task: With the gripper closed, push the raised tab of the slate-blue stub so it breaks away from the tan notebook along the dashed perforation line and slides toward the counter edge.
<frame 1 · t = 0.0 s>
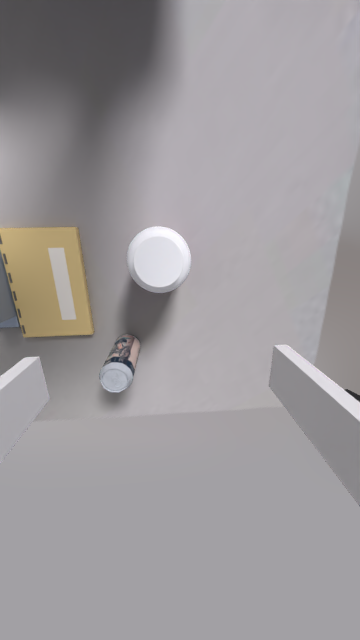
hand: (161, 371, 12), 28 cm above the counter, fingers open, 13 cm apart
tan notebook: (51, 284, 38), on the counter
beer can: (128, 344, 42), on the counter
pill bottle: (160, 257, 38), on the counter
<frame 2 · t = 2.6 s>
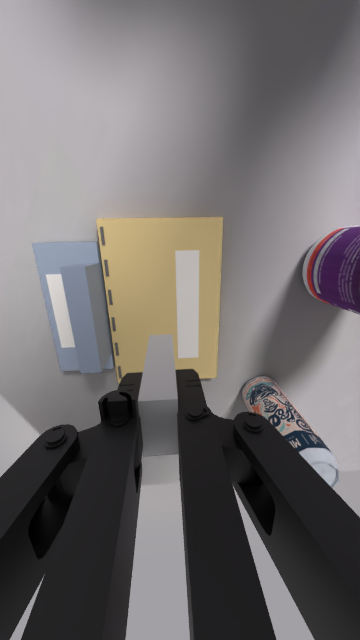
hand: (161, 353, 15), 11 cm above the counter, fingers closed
tan notebook: (164, 306, 25), on the counter
stub: (71, 316, 22), point 3 cm above the counter, slide at 0.0 cm
beer can: (257, 388, 29), on the counter
pill bottle: (332, 265, 25), on the counter
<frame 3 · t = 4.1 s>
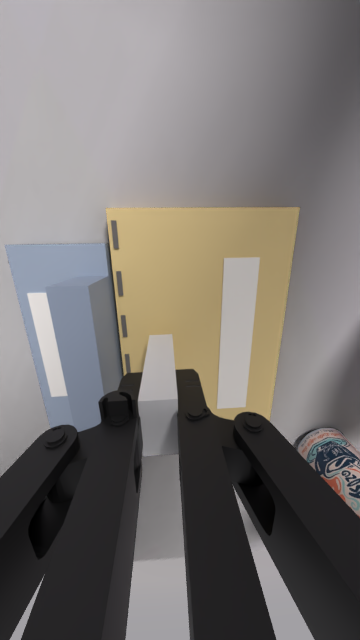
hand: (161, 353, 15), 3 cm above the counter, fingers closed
tan notebook: (200, 336, 17), on the counter
stub: (65, 357, 14), point 3 cm above the counter, slide at 0.0 cm
beer can: (316, 441, 22), on the counter
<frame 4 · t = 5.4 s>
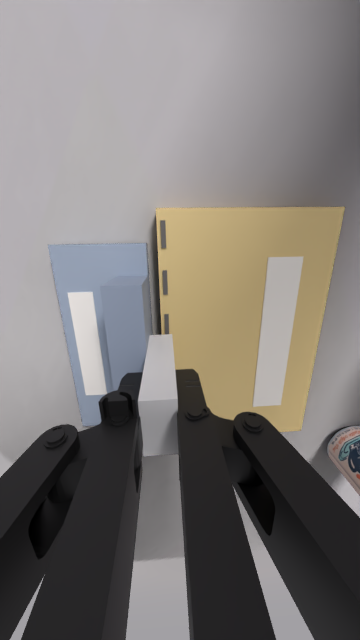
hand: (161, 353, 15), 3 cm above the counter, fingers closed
tan notebook: (237, 334, 17), on the counter
stub: (105, 356, 14), point 3 cm above the counter, slide at 0.4 cm, touching gripper
beer can: (345, 439, 22), on the counter
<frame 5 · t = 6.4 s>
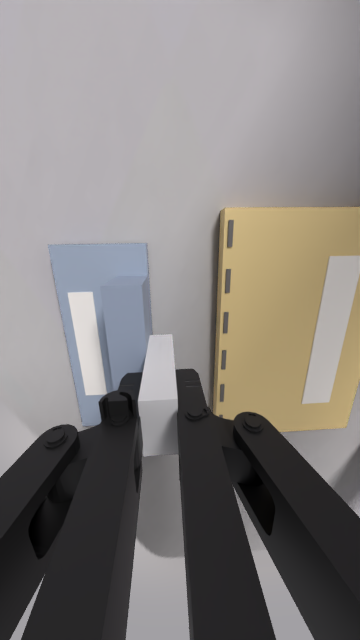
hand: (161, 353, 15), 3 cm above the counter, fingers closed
tan notebook: (288, 332, 18), on the counter
stub: (105, 356, 14), point 3 cm above the counter, slide at 4.7 cm, touching gripper
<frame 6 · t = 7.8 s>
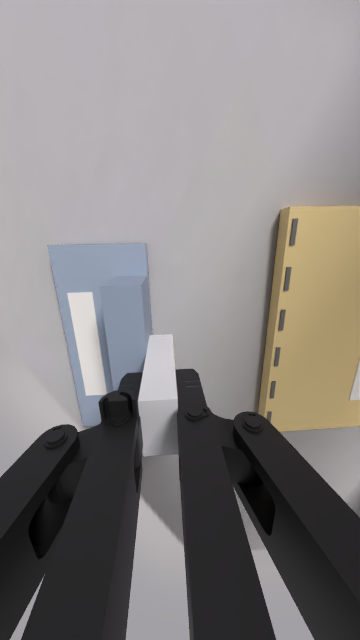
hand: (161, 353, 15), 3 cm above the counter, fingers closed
tan notebook: (338, 330, 18), on the counter
stub: (105, 356, 14), point 3 cm above the counter, slide at 8.9 cm, touching gripper
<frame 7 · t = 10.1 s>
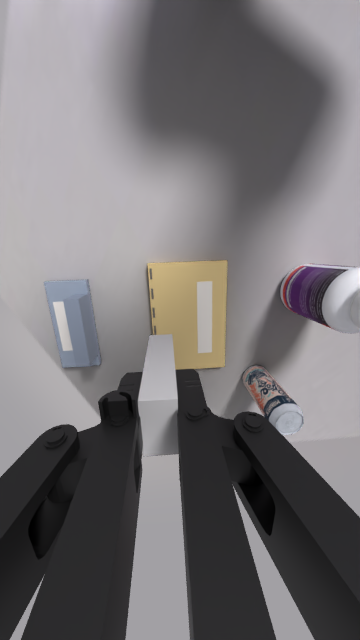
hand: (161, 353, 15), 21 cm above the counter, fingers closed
tan notebook: (188, 317, 36), on the counter
stub: (69, 329, 33), point 3 cm above the counter, slide at 8.9 cm
beer can: (253, 375, 41), on the counter
pill bottle: (300, 287, 37), on the counter
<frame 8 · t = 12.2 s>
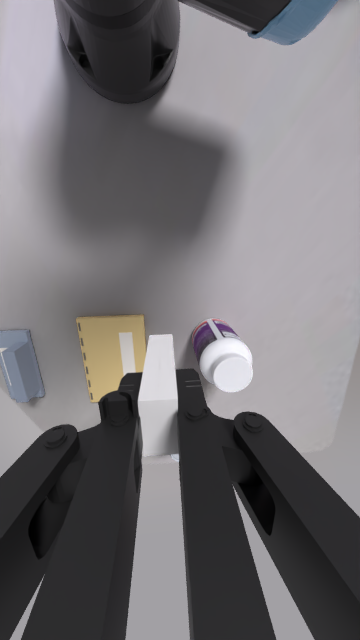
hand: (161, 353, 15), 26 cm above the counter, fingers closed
tan notebook: (116, 358, 44), on the counter
stub: (12, 370, 40), point 3 cm above the counter, slide at 8.9 cm
pill bottle: (211, 335, 44), on the counter
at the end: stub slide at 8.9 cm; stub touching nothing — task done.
